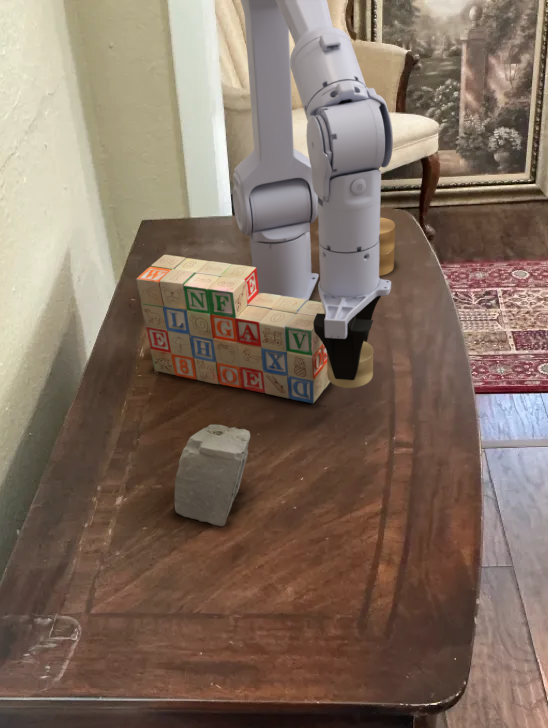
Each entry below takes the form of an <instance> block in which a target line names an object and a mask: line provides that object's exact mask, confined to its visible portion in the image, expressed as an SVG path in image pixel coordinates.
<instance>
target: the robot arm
mask: <svg viewBox="0 0 548 728" xmlns="http://www.w3.org/2000/svg"><path fill="white" fill-rule="evenodd" d="M240 3H241V7H242V11H243V15H244V27H245V28H244V29H245V40H246V41H245V42H246V55H247V69H248V70H247V71H248V84H249V96H250V97H249V98H250V99H249V100H250V110H251V111H250V112H251V127H252V138H253V150H252V151H251V152H250V153H249V154H248V155H247V156H246V157H245V158H244V159H242V160H241V161H240V163H238V164H237V165H236V166H235V168H234V169H233V172H234V173H232V176H233V177H232V179H233V180H232V181H233V188H232V206H233V213H234V217H235V221H236V224H237V228H238V229H239V231H240V232H241V233H242V234H243V235H244V236H248V237H249V247H250V258H251V267H256V269H257V277H258V286H259V292H258V293H259V294H260V293H267V294H274V295H281V296H287V297H293V298H300V299H306V300H308V301H310V299H311V296H312V293H313V291H314V290H315V287H316V285H317V288H318V289H317V290H318V291H317V292H318V295H319V299H320V302H322V306H323V309H324V312H325V314H320V313H317V314H316V317H315V319H314V322H313V326H314V331H315V333H316V334H317V335H318V337H319V338H320V340H321V341H322V343H323V345H324V346H325V349H326V351H327V354H328V357H329V360H330V364H331V368H332V371H333V374H334V377H335V379H343V380H355V377H356V374H357V371H358V367H359V361H360V355H361V349H362V345H363V342H364V341H365V342H367V343H368V339H369V335H370V331H371V329H372V326H373V323H374V320H373V319H372V318H373V315H374V311H375V309H376V306H377V304H378V303H379V300H380V298H381V297H386V296H389V295H390V293H391V290H392V281H391V280H389V279H382V278H380V276H379V247H380V218H381V197H382V196H381V194H382V193H381V192H382V191H381V190H382V189H381V187H382V171H381V170H380V168H387V167H388V166H389V164H390V163H391V159H392V156H393V147H394V136H393V135H394V134H393V133H394V132H393V124H392V121H391V120H392V119H391V115H390V111H389V108H388V105H387V102H386V100H385V99H384V98H383V96H381V95H379V94H377V91H376V89H375V88H374V87H367V85H366V82H365V78H364V76H363V72H362V70H361V67H360V64H359V61H358V58H357V56H356V52H355V49H354V46H353V43H352V40H351V38H350V36H349V34H347V33H346V32H345V31H344V30H343V29H340V28H338V27H335V26H333V22H332V17H331V13H330V12H331V11H330V8H329V3H328V0H240ZM290 35H291V38H292V40H293V43H294V47H293V49H292V51H291V50H290ZM291 75H292V76H291ZM292 77H293V79H294V83H295V87H296V89H297V92H298V96H299V99H300V102H301V105H302V108H303V111H304V114H305V117H306V120H307V123H306V136H305V137H306V148H307V154H308V156H307V155H306V154H304V153H303V152H301V151H299V150H298V149H296V148H294V146H295V145H294V125H293V99H292V98H293V97H292ZM316 220H317V221H318V223H317V224H318V251H319V252H318V253H319V255H318V257H319V273H315V272H312V247H311V244H312V243H311V227H310V226H311V224H313V223H315V221H316ZM318 280H319V281H318ZM317 282H318V284H317Z"/></svg>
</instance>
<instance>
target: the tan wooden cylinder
mask: <svg viewBox="0 0 548 728" xmlns="http://www.w3.org/2000/svg"><path fill="white" fill-rule="evenodd" d="M327 375H328V379H329V381H330V383H331V384H332V385H334V386H336V387H339V388H343V389H355V388H360V387H363V386H365V385H367V384H368V383H370V382H371V380H372V379H373V377H374V347H373V346H372V344H370V343H369V342H368V341H367V342H365V341H364V342H363V345H362V349H361V355H360V361H359V367H358V371H357V374H356V377H355V380H343V379H335V377H334V374H333V371H332V368H331V364H330V360H329V357H328V354H327Z"/></svg>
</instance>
